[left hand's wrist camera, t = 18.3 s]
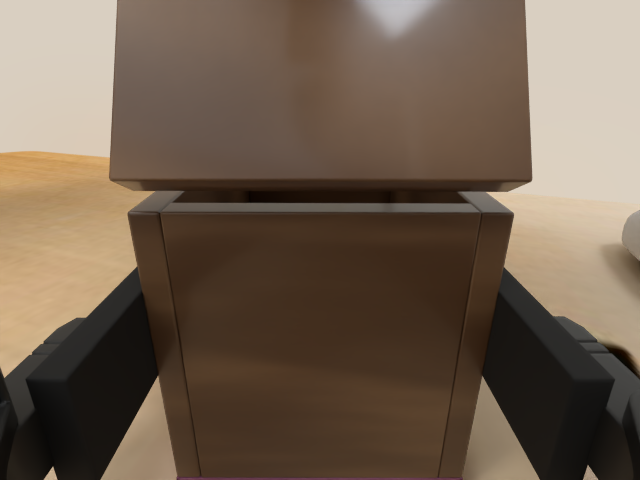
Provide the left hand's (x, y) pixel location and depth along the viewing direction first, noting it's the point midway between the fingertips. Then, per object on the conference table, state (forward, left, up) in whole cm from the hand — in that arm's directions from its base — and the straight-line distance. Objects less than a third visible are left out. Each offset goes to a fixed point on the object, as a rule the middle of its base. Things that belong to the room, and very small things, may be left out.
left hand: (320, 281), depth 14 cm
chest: (+3, -2, -6) cm, 7 cm away
